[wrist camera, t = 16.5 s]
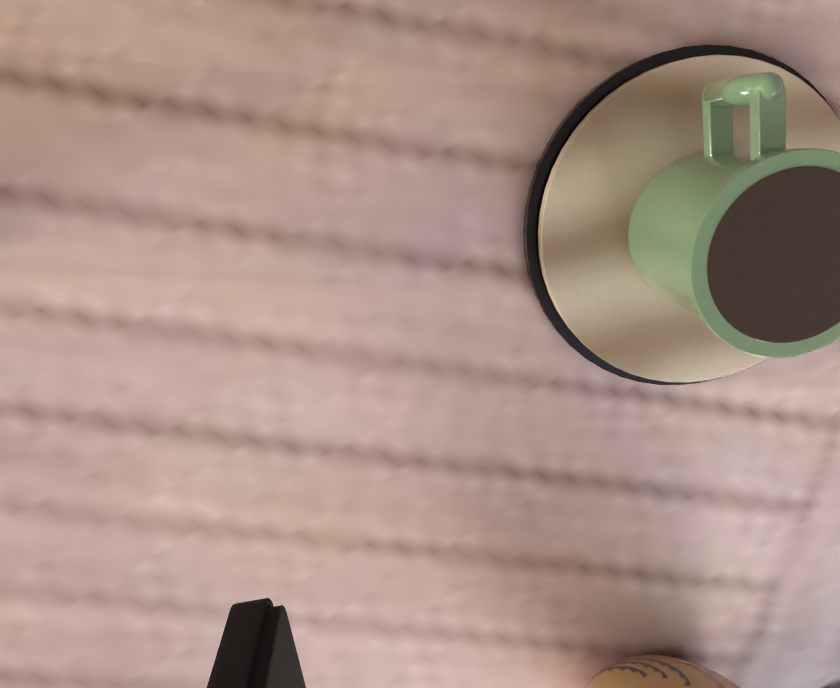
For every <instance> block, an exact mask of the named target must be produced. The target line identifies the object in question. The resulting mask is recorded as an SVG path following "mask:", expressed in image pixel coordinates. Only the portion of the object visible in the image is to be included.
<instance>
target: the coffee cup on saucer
mask: <svg viewBox="0 0 840 688" xmlns="http://www.w3.org/2000/svg"><path fill="white" fill-rule="evenodd" d="M538 246H539V258H540V264H541V269H542V275H543V278H544V281H545V284H546V287H547V290H548V293H549V296H550V298H551V300H552V302H553V304H554V306H555V308H556V310H557V312H558V313H559V315H560V316H561V318H562V319H563V321H564V322H565V324H566V325H567V327H568V328H569V329H570V330H571V331H572V332H573V334H574V335H575V336H576V337H577V338H578V339H579V340H580V341H581V342H582V343H583V344H584V345H585V346H586V347H587V348H588V349H590V350H591V351H592V352H593V353H594V354H596V355H597V356H598V357H600V358H601V359H603V360H604V361H606V362H608V363H609V364H611V365H613V366H614V367H616V368H619V369H621V370H623V371H625V372H628V373H630V374H633V375H636V376H640V377H643V378H647V379H651V380H658V381H665V382H696V381H705V380H711V379H715V378H719V377H724V376H728V375H730V374H733V373H736V372H739V371H741V370H744V369H747V368H749V367H751V366H753V365H755V364H757V363H759V362H761V361H763V360H765V359H766V358H785V357H794V356H798V355H802V354H807V353H810V352H812V351H815V350H818V349H820V348H822V347H824V346H826V345H828V344H830V343H832V342H834V341H835V340H837V339H839V338H840V120H839V119H838V117H837V116H836V115H835V113H834V112H833V110H832V109H831V107H830V106H829V105H828V104H827V103H826V101H825V100H824V99H823V98H822V97H821V96H820V95H819V94H818V93H817V92H816V91H815V90H814V89H813V88H811V87H810V86H809V85H808V84H806V83H805V82H804V81H802V80H801V79H800V78H799V77H797V76H795V75H793V74H791V73H789V72H788V71H786V70H784V69H782V68H780V67H778V66H775V65H772V64H770V63H767V62H764V61H761V60H757V59H752V58H747V57H742V56H733V55H709V56H698V57H692V58H687V59H683V60H679V61H675V62H671V63H667V64H664V65H661V66H659V67H656V68H654V69H651V70H649V71H646V72H644V73H642V74H640V75H639V76H637V77H635V78H633V79H631V80H629V81H627V82H626V83H624V84H623V85H621V86H620V87H619V88H617V89H616V90H614V91H613V92H612V93H610V94H609V95H608V96H606V97H605V98H604V99H603V100H602V101H601V102H600V103H599V104H598V105H597V106H595V107H594V108H593V109H592V110H591V111H590V112H589V113H588V114H587V116H586V117H585V118H584V119H583V120H582V122H581V123H580V124H579V125H578V126H577V127H576V129H575V130H574V131H573V133H572V134H571V136H570V137H569V139H568V141H567V142H566V144H565V145H564V147H563V148H562V150H561V152H560V154H559V156H558V158H557V160H556V162H555V164H554V166H553V168H552V170H551V173H550V176H549V179H548V182H547V185H546V188H545V191H544V195H543V200H542V204H541V209H540V216H539V227H538Z"/></svg>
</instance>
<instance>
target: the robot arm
mask: <svg viewBox="0 0 840 688" xmlns="http://www.w3.org/2000/svg"><path fill="white" fill-rule="evenodd" d="M207 688H306V686H305V682H304V678H303V675H302V671H301V667H300V663H299V659H298V655H297V651H296V647H295V643H294V640H293V636H292V632H291V628H290V624H289V620H288V616H287V613H286V609H285V607H284V606H283V605H281V606H275V607H274V606H273V603H272V601H271V600H270V599H269V598H265V599H260V600H254V601H248V602H243V603H237V604H234V605H232V607H231V609H230V612H229V616H228V619H227V622H226V626H225V629H224V632H223V636H222V639H221V642H220V646H219V649H218V652H217V656H216V659H215V662H214V666H213V669H212V672H211V676H210V679H209V682H208V686H207Z"/></svg>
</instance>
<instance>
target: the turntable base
mask: <svg viewBox="0 0 840 688" xmlns="http://www.w3.org/2000/svg"><path fill="white" fill-rule="evenodd" d="M709 55H733V56H742V57H747V58H752V59H757V60H761V61H764V62H767V63H770V64H772V65H775V66H778V67H780V68H782V69H784V70H786V71H788V72H789V73H791V74H793V75H795V76H797V77H799V78H800V79H801V80H802V81H804V82H805V83H806V84H808V85H809V86H810V87H811V88H813V89H814V90H815V91H816V92H817V93H818V94H819V95H820V96H821V97H822V98H823V99H824V100H825V101H826V99H825V98H824V97H823V96H822V95H821V94H820V92H819V91H818V90H817V89H816V88H815V87H814V86H813V85H812V84H811V83H810V82H809V81H808V80H806V79H805V78H804V77H803V76H801V75H800V74H799V73H797V72H796V71H795V70H794V69H792V68H790V67H789V66H787V65H785V64H783V63H781V62H780V61H778V60H776V59H774V58H772V57H769V56H766V55H764V54H761V53H758V52H756V51H753V50H748V49H743V48H738V47H733V46H721V45H701V46H690V47H682V48H678V49H674V50H670V51H666V52H661V53H658V54H655V55H652V56H650V57H647V58H645V59H642V60H639V61H637V62H634V63H633V64H631V65H629V66H627V67H625V68H623V69H622V70H620V71H618V72H616V73H614V74H613V75H611V76H610V77H609V78H607V79H606V80H604V81H603V82H602V83H600V84H599V85H598V86H596V87H595V88H594V89H592V90H591V91H590V92H589V93H588V94H587V95H586V96H585V97H584V98H583V99H582V100H581V101H580V102H579V103H578V104H576V106H575V107H574V108H573V109H572V110H571V112H570V113H569V114H568V115H567V116H566V118H565V119H564V120H563V121H562V122H561V124H560V125H559V127H558V128H557V130H556V131H555V133H554V134H553V136H552V138H551V139H550V141H549V142H548V144H547V146H546V148H545V150H544V152H543V154H542V156H541V158H540V160H539V162H538V164H537V167H536V170H535V173H534V176H533V179H532V182H531V185H530V188H529V193H528V198H527V203H526V207H525V217H524V230H523V234H524V253H525V259H526V264H527V270H528V275H529V278H530V281H531V284H532V287H533V290H534V293H535V295H536V297H537V299H538V301H539V303H540V305H541V307H542V310H543V312H544V313H545V315H546V316H547V318H548V319H549V321H550V322H551V323H552V325H553V326H554V328H555V329H556V330H557V331H558V332H559V334H560V335H561V336H562V337H563V338H564V339H565V340H566V341H567V342H568V343H569V345H570V346H571V347H573V348H574V349H575V350H576V351H577V352H579V353H580V354H581V355H582V356H583V357H585V358H586V359H588V360H589V361H591V362H592V363H594V364H596V365H597V366H599V367H601V368H602V369H604V370H607V371H609V372H611V373H614V374H616V375H618V376H621V377H624V378H628V379H631V380H635V381H638V382H644V383H651V384H658V385H683V384H692V383H700V382H705V381H709V380H705V381H696V382H665V381H658V380H651V379H647V378H643V377H640V376H636V375H633V374H630V373H628V372H625V371H623V370H621V369H619V368H616V367H614V366H613V365H611V364H609V363H608V362H606V361H604V360H603V359H601V358H600V357H598V356H597V355H596V354H594V353H593V352H592V351H591V350H590V349H588V348H587V347H586V346H585V345H584V344H583V343H582V342H581V341H580V340H579V339H578V338H577V337H576V336H575V335H574V334H573V332H572V331H571V330H570V329H569V328H568V327H567V325H566V324H565V322H564V321H563V319H562V318H561V316H560V315H559V313H558V312H557V310H556V308H555V306H554V304H553V302H552V300H551V298H550V296H549V293H548V290H547V287H546V284H545V281H544V278H543V275H542V269H541V264H540V258H539V246H538V227H539V216H540V209H541V204H542V200H543V195H544V191H545V188H546V185H547V182H548V179H549V176H550V173H551V170H552V168H553V166H554V164H555V162H556V160H557V158H558V156H559V154H560V152H561V150H562V148H563V147H564V145H565V144H566V142H567V141H568V139H569V137H570V136H571V134H572V133H573V131H574V130H575V129H576V127H577V126H578V125H579V124H580V123H581V122H582V120H583V119H584V118H585V117H586V116H587V114H588V113H589V112H590V111H591V110H592V109H593V108H594V107H595V106H597V105H598V104H599V103H600V102H601V101H602V100H603V99H604V98H605V97H606V96H608V95H609V94H610V93H612V92H613V91H614V90H616V89H617V88H619V87H620V86H621V85H623V84H624V83H626V82H627V81H629V80H631V79H633V78H635V77H637V76H639V75H640V74H642V73H644V72H646V71H649V70H651V69H654V68H656V67H659V66H661V65H664V64H667V63H671V62H675V61H679V60H683V59H687V58H692V57H698V56H709ZM826 103H827V104H828V102H827V101H826ZM828 105H829V104H828ZM829 106H830V105H829ZM831 109H832V108H831ZM832 110H833V109H832ZM833 112H834V111H833ZM834 113H835V112H834ZM835 115H836V114H835ZM836 116H837V115H836ZM719 378H721V377H719ZM715 379H717V378H715ZM711 380H713V379H711Z"/></svg>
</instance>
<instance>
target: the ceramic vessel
mask: <svg viewBox="0 0 840 688" xmlns="http://www.w3.org/2000/svg"><path fill="white" fill-rule="evenodd" d="M585 688H740V687H738V686H737V685H736V684H734V683H733V682H731V681H729V680H728V679H726V678H725V677H723V676H721V675H719V674H718V673H716V672H714V671H712V670H710V669H708V668H705V667H703V666H701V665H698V664H696V663H693V662H690V661H687V660H683V659H680V658H675V657H670V656H663V655H638V656H632V657H628V658H624V659H621V660H619V661H616V662H614V663H612V664H610V665H609V666H607V667H606V668H604V669H603V670H601V671H600V672H599V673H598V674H597V675H596V676H594V677H593V679H592V680H591V681H590V682H589V683H588V685H587V686H586V687H585Z"/></svg>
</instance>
